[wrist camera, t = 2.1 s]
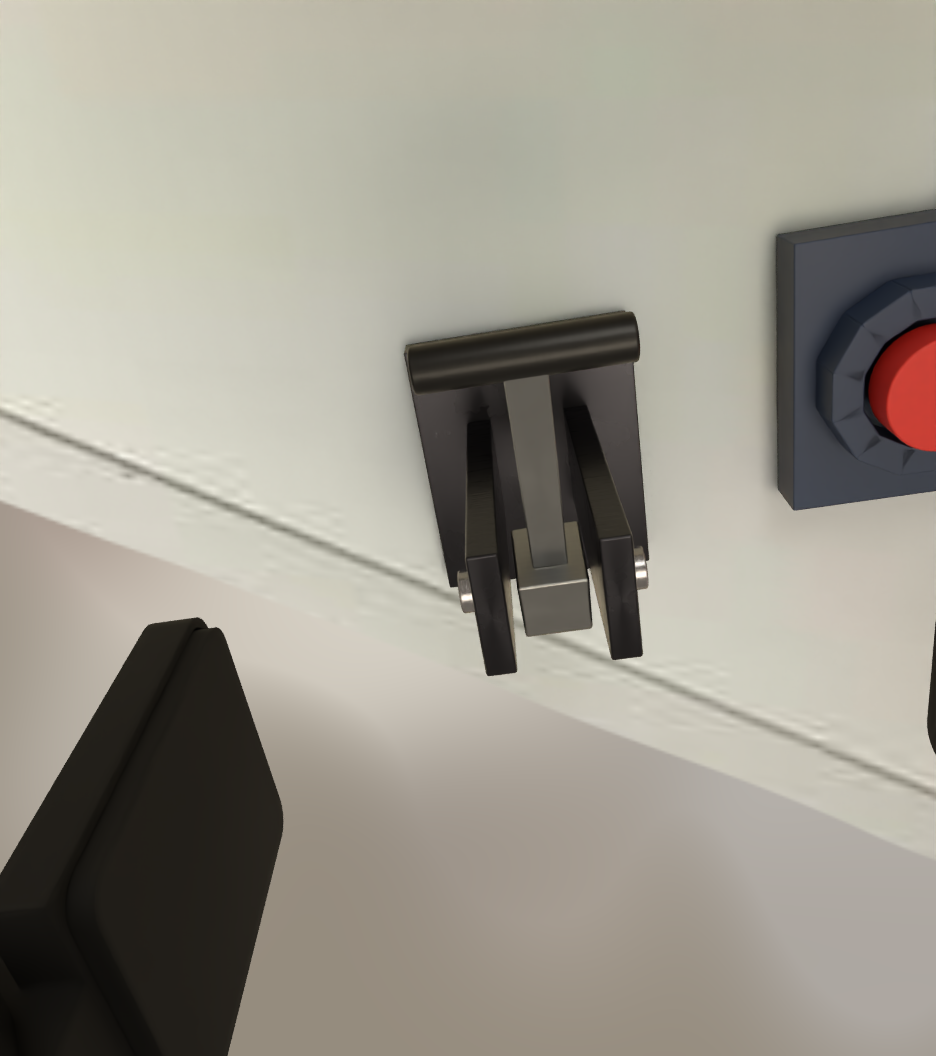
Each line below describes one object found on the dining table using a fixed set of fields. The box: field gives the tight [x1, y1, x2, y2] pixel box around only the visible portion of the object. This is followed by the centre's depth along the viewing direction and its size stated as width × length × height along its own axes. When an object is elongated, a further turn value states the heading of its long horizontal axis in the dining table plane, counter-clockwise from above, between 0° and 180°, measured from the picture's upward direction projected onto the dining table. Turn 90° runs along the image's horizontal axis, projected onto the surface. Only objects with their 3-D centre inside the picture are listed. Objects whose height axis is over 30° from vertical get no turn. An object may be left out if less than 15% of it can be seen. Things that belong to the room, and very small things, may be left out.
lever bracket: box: [404, 311, 649, 676], centre depth 33 cm, size 11×9×13 cm
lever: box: [407, 312, 640, 637], centre depth 26 cm, size 12×6×2 cm, turn 9°
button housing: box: [776, 209, 936, 510], centre depth 35 cm, size 11×9×4 cm
